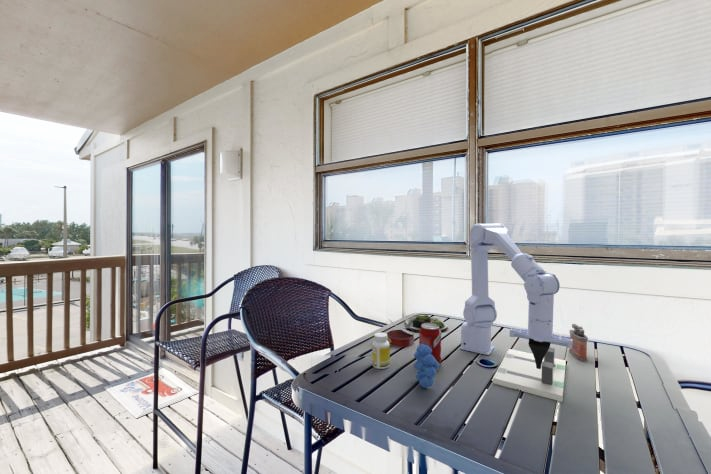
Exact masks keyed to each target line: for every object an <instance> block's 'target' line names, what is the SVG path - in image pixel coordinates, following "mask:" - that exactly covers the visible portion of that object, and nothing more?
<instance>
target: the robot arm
mask: <svg viewBox="0 0 711 474" xmlns="http://www.w3.org/2000/svg"><path fill="white" fill-rule="evenodd" d="M469 246H470V247H469V248H470V254H471V255H470V262H471V267H470V270H471V271H470V272H471V295H470V296H469V298H467V299H466V300H464V308H463V313H462V315H463V317H464V320H465V321H463V322H462V325H461V330H460V350H463V351H468V352H471V353H477V354H481V355H486V356H490V355H491V353H492V352H493V350H494V349H495V346H494V345H492V326H493V325H494V322H496V319H497V317H498V312H497V309H496V305H495V301H494V300H493V299H492V298H491V297H489V262H488V261H489V255H488V254H489V253H488V251H489V250H490V249H492V247H494V246H497V247H498V248H499V249H500V250H501V251H502V252H503V253H504V254H505V255H506V256H507V257H508V258H509V259H510V260H511V263H510V265H511V267H512V269H513V270H514V271H515V273H516V274H517V275H518V276H519V278H520V279H521V280H522V281H523V282H524V283H523V287H524V290H525V292H526V299H527V301H528V319H527V329H522V328H521V329H520V328H514V327H511V328H510V329H509V337H510V338H519V339H524V340H528V346H529V348H530V350H531V354H533V356H534V359H535V362H536V368H537V369H541V364H542V361H543V358H544V356H545V354H546V353H547V351H548V350H549V348H551V345H556V346H561V347H566V348H567V349H570V348H571V349H572V340H573V339H570V337H565V336H562V335H557V334H554V333H553V330H554V329H553V327H554V325H553V324H554V304H555V303H554V298H555V297H554V296H555V295H556V294H557V293H558V292H559V291H560V287H561V286H560V281H559V279H558V277H557V276H556V274H554V273H553V272H548V271H546V270H545V269H543V268H542V266H540V265H539V264H538V262H536V261H535V259H534V256H533V255H531V254H529V253H523V252H522V251H521V250H520V249H519V246H517V245H516V243H515V242H514V240H513V239H512V238H511V237H510V235H509V229H508V228H506V227H505V225H504V224H503V223H500V222H497V223H479V222H478V223H475V224H473V225H472V226H471V228H470V229H469Z"/></svg>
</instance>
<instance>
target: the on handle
mask: <svg viewBox="0 0 711 474" xmlns="http://www.w3.org/2000/svg"><path fill="white" fill-rule="evenodd" d="M555 352H556V351H555V348H554V347H550V348H549V350H548V351H547V353H546V354H545V356H544V362H549V363H553V367H554V358H555V354H556V353H555Z"/></svg>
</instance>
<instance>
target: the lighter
mask: <svg viewBox="0 0 711 474" xmlns="http://www.w3.org/2000/svg"><path fill="white" fill-rule="evenodd" d="M571 328H572V329H569V338H570V339H573V340H572V349H571V348H568V349H569V350H568V353H569V355H570V356H572V357H573V358H574V359H575V360H577V361H579V362H583V361H584V363H586V362H585V361H587V362H588V357H587V356H588V355H587V351H588V340H589V338H588V336H587V335H586V334H585V329H584V328H583V326H579V325H577V324H575V323H572V324H571Z"/></svg>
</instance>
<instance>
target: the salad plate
mask: <svg viewBox="0 0 711 474" xmlns="http://www.w3.org/2000/svg"><path fill="white" fill-rule="evenodd" d="M424 323H433V324H437V325H439V329H440V331H441V333H444V332H446V331H447V330H448V327H449V326H448V324H447V323H445V322H444V321H443V320H442V319H440V318H437V317H430V316H429V315H427V314H424V315H422V314H421V313H420V314H418V315H417V314H416V315H414V317H412V318H411V317H410V318H407V319H405V324H406V325H405V328H406V329H409V331H410V330H411V331H412V332H415V333H419V330H420V328H421V325H422V324H424Z"/></svg>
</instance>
